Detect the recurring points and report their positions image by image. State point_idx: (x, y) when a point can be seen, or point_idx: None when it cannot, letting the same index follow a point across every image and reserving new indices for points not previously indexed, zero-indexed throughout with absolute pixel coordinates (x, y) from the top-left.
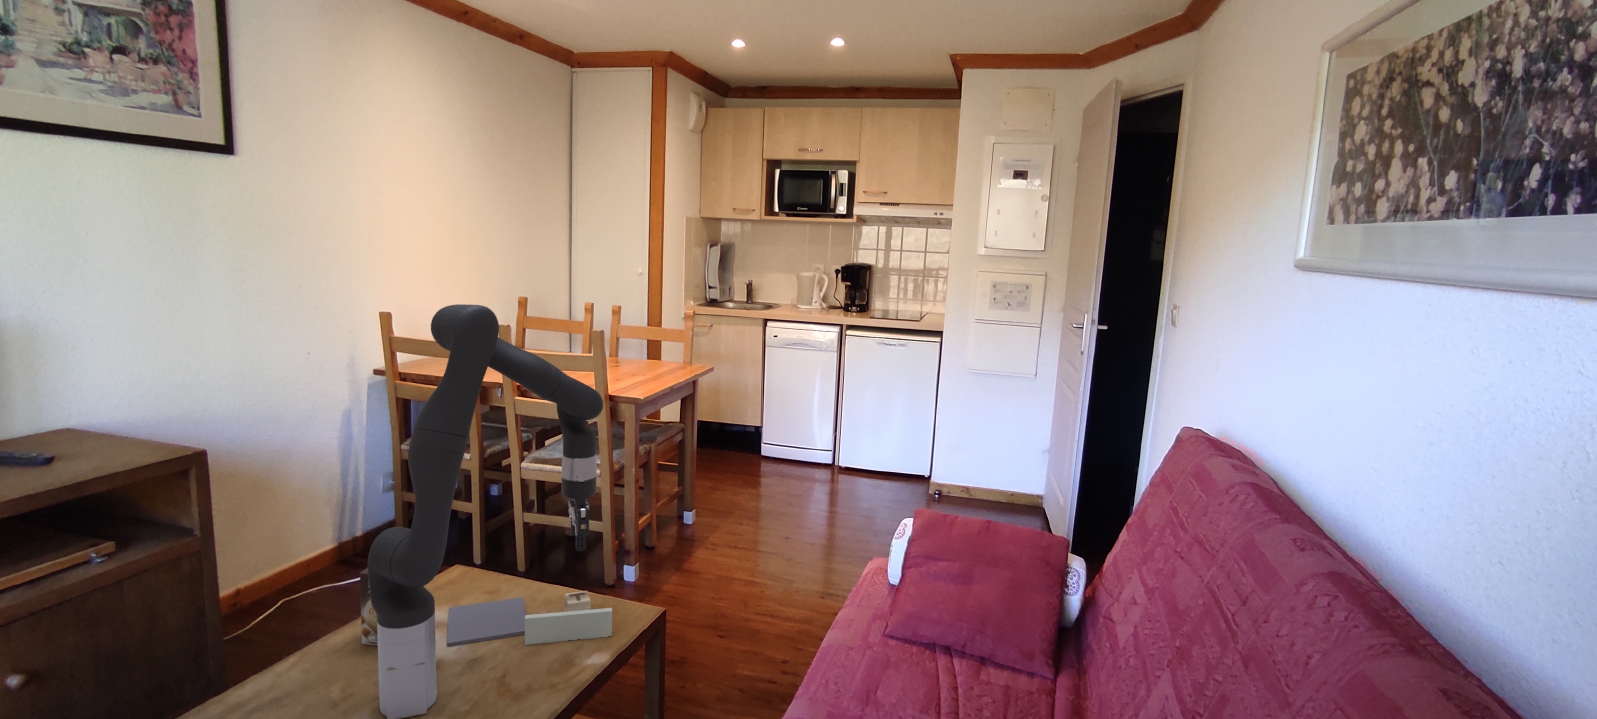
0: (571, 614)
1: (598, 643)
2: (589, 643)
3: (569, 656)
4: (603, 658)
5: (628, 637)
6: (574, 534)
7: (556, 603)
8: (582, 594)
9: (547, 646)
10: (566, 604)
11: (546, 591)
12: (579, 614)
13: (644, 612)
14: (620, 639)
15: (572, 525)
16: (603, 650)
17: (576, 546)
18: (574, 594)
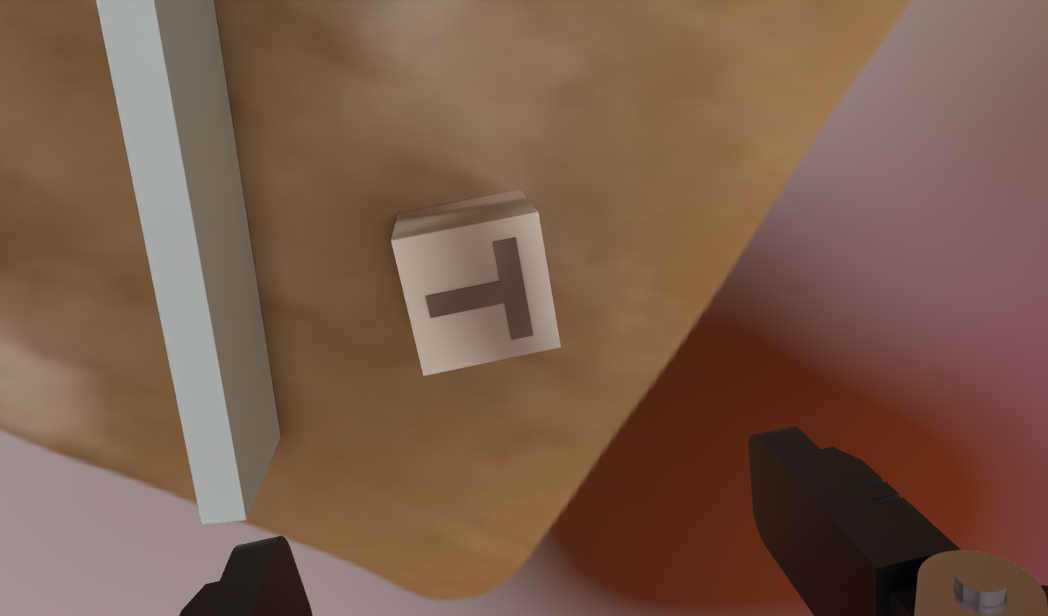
0: (156, 289)
1: None
2: None
3: (37, 247)
4: (23, 413)
5: None
6: (759, 473)
7: (648, 131)
8: (507, 322)
9: None
10: (458, 219)
11: (812, 59)
12: (164, 338)
13: (471, 568)
14: None
15: (830, 531)
16: (103, 409)
17: (225, 578)
18: (512, 274)
